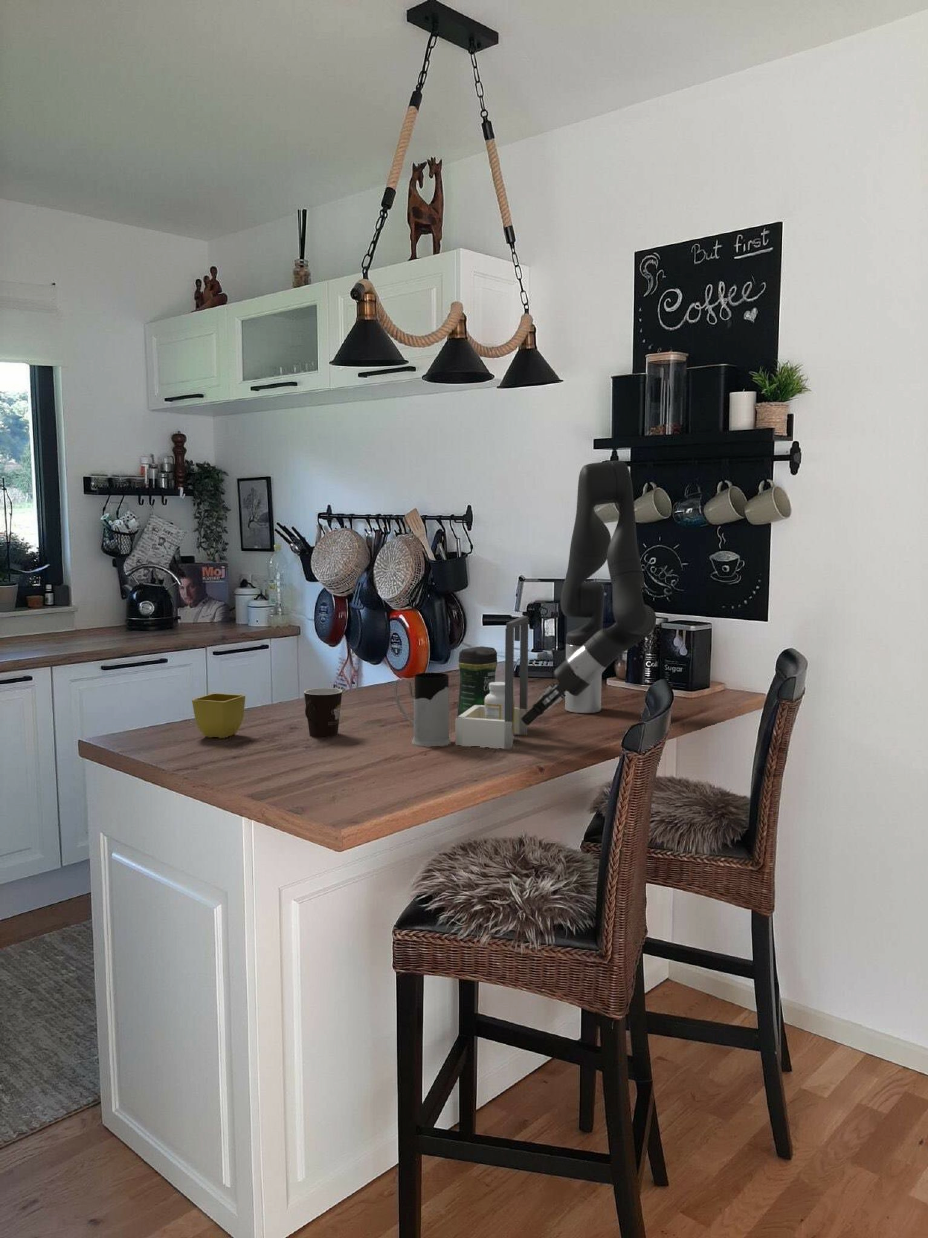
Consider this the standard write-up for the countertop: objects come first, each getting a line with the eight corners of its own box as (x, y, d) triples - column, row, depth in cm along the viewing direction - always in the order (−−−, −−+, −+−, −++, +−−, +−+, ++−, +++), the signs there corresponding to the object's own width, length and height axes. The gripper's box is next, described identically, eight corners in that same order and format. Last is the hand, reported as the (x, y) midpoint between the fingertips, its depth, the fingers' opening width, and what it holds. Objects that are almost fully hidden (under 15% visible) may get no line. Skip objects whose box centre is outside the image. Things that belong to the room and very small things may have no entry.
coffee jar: (477, 728, 228) (478, 650, 226) (452, 723, 233) (452, 647, 231) (502, 722, 236) (503, 646, 234) (477, 717, 241) (477, 643, 239)
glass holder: (437, 748, 208) (437, 679, 206) (383, 740, 215) (383, 674, 214) (458, 741, 215) (459, 674, 214) (406, 733, 223) (406, 668, 221)
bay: (474, 730, 226) (475, 614, 224) (527, 733, 223) (528, 616, 220) (455, 745, 211) (455, 621, 208) (511, 749, 208) (512, 623, 205)
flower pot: (191, 738, 217) (190, 699, 216) (214, 730, 225) (213, 692, 224) (225, 742, 214) (224, 701, 213) (247, 733, 222) (246, 695, 221)
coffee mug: (327, 728, 227) (327, 686, 226) (350, 734, 221) (349, 691, 220) (285, 736, 219) (285, 692, 218) (308, 742, 213) (307, 698, 212)
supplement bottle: (509, 736, 220) (509, 680, 219) (517, 742, 214) (518, 685, 213) (481, 737, 219) (481, 681, 218) (488, 744, 212) (489, 686, 211)
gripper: (573, 653, 217) (519, 704, 221) (562, 661, 204) (505, 715, 209) (597, 677, 216) (542, 728, 220) (587, 687, 203) (529, 741, 208)
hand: (524, 721), depth 215 cm, fingers closed
